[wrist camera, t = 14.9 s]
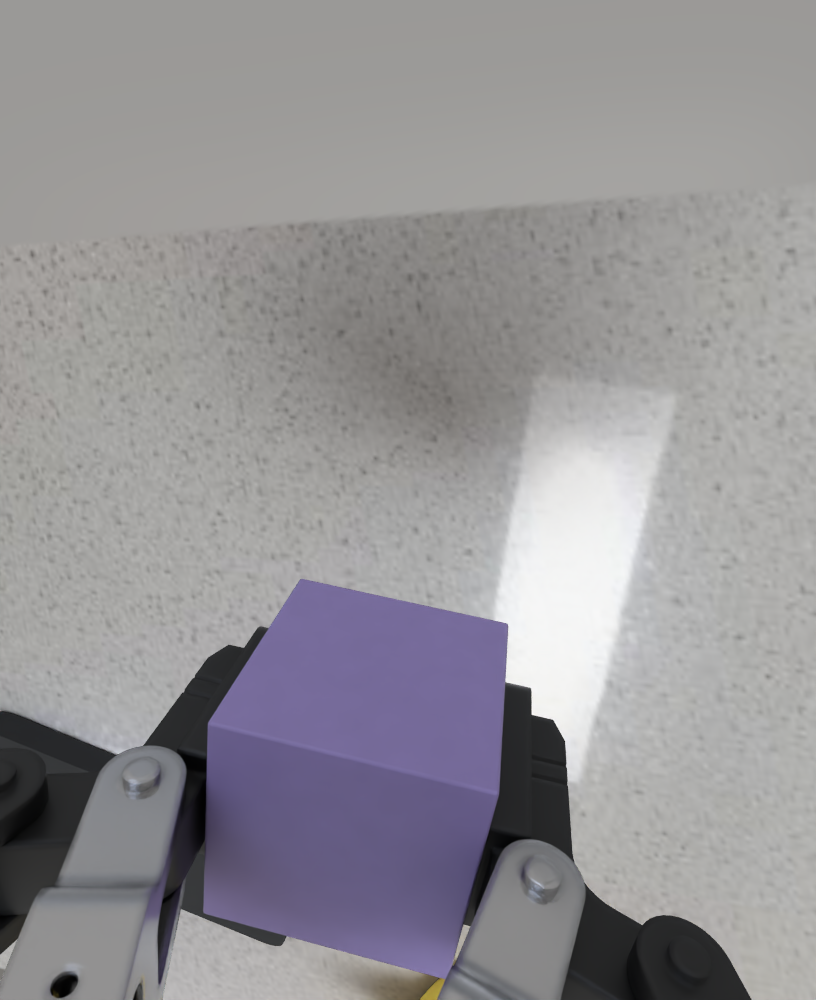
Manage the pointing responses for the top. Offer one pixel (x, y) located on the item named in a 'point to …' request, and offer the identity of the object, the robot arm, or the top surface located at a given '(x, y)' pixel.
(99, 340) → the top surface
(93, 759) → the smart home device
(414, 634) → the lavender cube
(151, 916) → the robot arm
